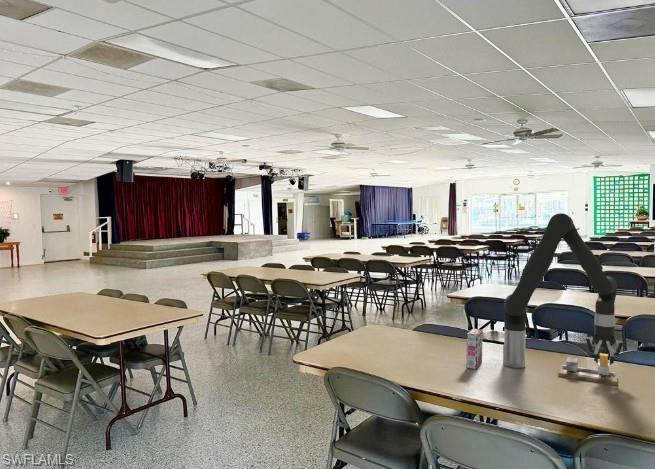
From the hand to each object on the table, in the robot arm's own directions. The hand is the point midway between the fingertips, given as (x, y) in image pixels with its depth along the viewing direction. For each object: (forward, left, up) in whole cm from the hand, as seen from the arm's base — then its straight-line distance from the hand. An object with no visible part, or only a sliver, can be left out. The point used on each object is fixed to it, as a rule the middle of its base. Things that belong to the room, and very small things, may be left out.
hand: (603, 363), depth 201 cm
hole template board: (-6, 0, -7) cm, 9 cm away
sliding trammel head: (0, 0, -5) cm, 5 cm away
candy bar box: (-52, -9, -7) cm, 53 cm away
